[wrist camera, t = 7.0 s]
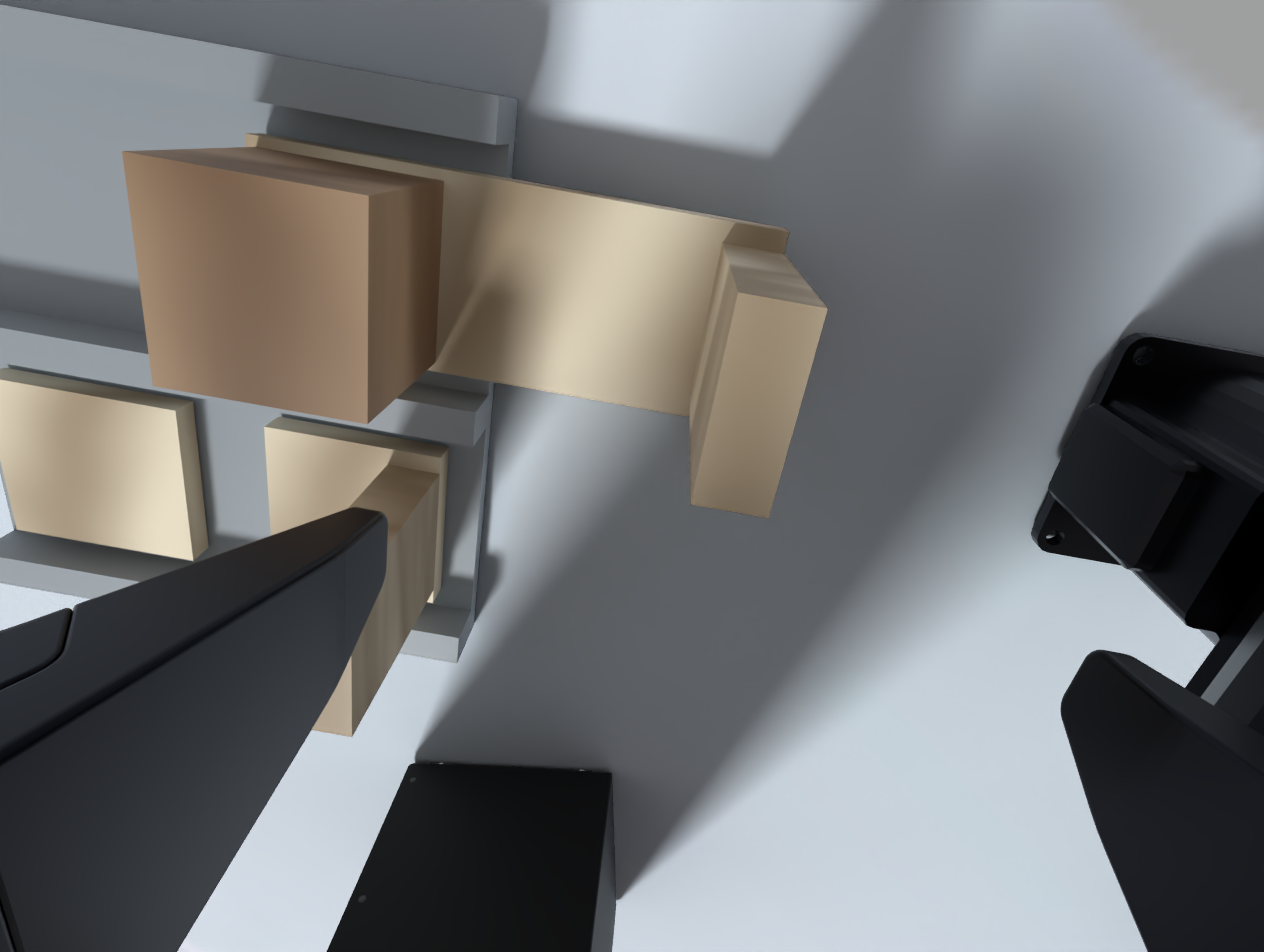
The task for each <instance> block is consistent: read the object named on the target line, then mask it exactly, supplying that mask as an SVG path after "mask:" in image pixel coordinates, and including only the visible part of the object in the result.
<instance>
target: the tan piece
mask: <svg viewBox="0 0 1264 952" xmlns="http://www.w3.org/2000/svg"><path fill="white" fill-rule="evenodd" d="M245 145H246V147H260V148H265V149H271V150H276V151H282V152H287V153H293V154H299V155H304V156H310V157H315V158H321V159H326V160H332V161H337V162H343V163H348V164H354V165H359V166H365V167H370V168H376V169H381V170H387V171H392V172H398V173H403V174H409V175H414V176H420V177H425V178H431V179H436V180H442V181H444V192H443V213H442V235H441V256H440V277H439V299H438V320H437V342H436V363H434V364H433V365H432V366H431V367H430V368H429V369H428V370H429V371H435V372H440V373H446V374H452V375H457V376H463V377H468V378H474V379H479V380H485V381H491V382H496V383H502V384H507V385H513V386H518V387H524V388H530V389H535V390H541V391H546V392H552V393H558V394H563V395H569V396H574V397H580V398H585V399H591V400H597V401H602V402H608V403H613V404H619V405H625V406H630V407H636V408H641V409H647V410H652V411H658V412H664V413H669V414H675V415H680V416H686V417H690V505H696V506H702V507H707V508H713V509H719V510H724V511H730V512H735V513H741V514H747V515H752V516H758V517H763V518H769V516H770V512H771V509H772V505H773V502H774V498H775V495H776V491H777V488H778V484H779V481H780V477H781V473H782V470H783V466H784V463H785V459H786V456H787V452H788V449H789V445H790V442H791V438H792V434H793V431H794V427H795V424H796V420H797V417H798V413H799V410H800V406H801V402H802V399H803V395H804V392H805V388H806V385H807V381H808V378H809V374H810V371H811V367H812V363H813V360H814V356H815V353H816V349H817V346H818V342H819V339H820V335H821V332H822V328H823V324H824V321H825V317H826V314H827V310H828V308H827V307H826V305H825V304H824V303H823V302H822V300H821V299H820V298H819V297H818V295H817V294H816V293H815V292H814V290H813V289H812V288H811V287H810V285H809V284H808V283H807V282H806V280H805V279H804V278H803V277H802V275H801V274H800V273H799V272H798V270H797V269H796V268H795V267H794V265H793V264H792V263H791V262H790V260H789V259H788V258H787V257H786V255H785V254H784V252H785V248H786V244H787V240H788V236H789V231H788V230H787V229H786V228H782V227H776V226H771V225H765V224H760V223H754V222H749V221H743V220H738V219H732V218H727V217H721V216H716V215H710V214H705V213H699V212H694V211H688V210H683V209H677V208H672V207H666V206H661V205H655V204H650V203H644V202H639V201H633V200H628V199H622V198H617V197H611V196H606V195H600V194H595V193H589V192H584V191H578V190H573V189H567V188H561V187H556V186H550V185H545V184H539V183H534V182H528V181H523V180H517V179H512V178H506V177H501V176H495V175H490V174H484V173H479V172H473V171H468V170H462V169H457V168H451V167H446V166H440V165H435V164H429V163H424V162H418V161H413V160H407V159H402V158H396V157H391V156H385V155H380V154H374V153H369V152H363V151H358V150H352V149H346V148H341V147H335V146H330V145H324V144H319V143H313V142H308V141H302V140H297V139H291V138H286V137H280V136H275V135H269V134H264V133H245Z"/></svg>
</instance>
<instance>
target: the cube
mask: <svg viewBox="0 0 1264 952" xmlns="http://www.w3.org/2000/svg"><path fill="white" fill-rule="evenodd" d="M122 155H123V163H124V171H125V178H126V186H127V193H128V201H129V209H130V216H131V224H132V231H133V239H134V247H135V254H136V262H137V269H138V277H139V285H140V292H141V300H142V308H143V315H144V323H145V330H146V338H147V346H148V353H149V361H150V368H151V376H152V384H153V386H155V387H160V388H166V389H172V390H177V391H183V392H188V393H194V394H200V395H205V396H211V397H216V398H222V399H228V400H233V401H239V402H244V403H250V404H256V405H261V406H267V407H272V408H278V409H284V410H289V411H295V412H300V413H306V414H312V415H317V416H323V417H328V418H334V419H340V420H345V421H351V422H357V423H362V424H369V423H370V422H371V421H372V420H373V419H374V418H375V417H376V416H377V415H378V414H380V413H381V412H382V411H383V410H384V409H385V408H386V407H387V406H388V405H389V404H391V403H392V402H393V401H394V400H395V399H396V398H397V397H398V396H399V395H400V394H402V393H403V392H404V391H405V390H406V389H407V388H408V387H409V386H410V385H411V384H412V383H414V382H415V381H416V380H417V379H418V378H419V377H420V376H421V375H422V374H423V373H425V372H426V371H427V370H428V369H429V368H430V367H431V366H432V365H433V364H434V363H436V342H437V320H438V299H439V277H440V256H441V235H442V213H443V192H444V181H442V180H436V179H431V178H425V177H420V176H414V175H409V174H403V173H398V172H392V171H387V170H381V169H376V168H370V167H365V166H359V165H354V164H348V163H343V162H337V161H332V160H326V159H321V158H315V157H310V156H304V155H299V154H293V153H287V152H282V151H276V150H271V149H265V148H260V147H234V148H203V149H172V150H141V151H122Z"/></svg>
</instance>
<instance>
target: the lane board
mask: <svg viewBox="0 0 1264 952" xmlns="http://www.w3.org/2000/svg"><path fill="white" fill-rule="evenodd" d="M517 108H518V99H515V98H510V97H505V96H500V95H494V94H489V93H483V92H478V91H472V90H467V89H461V88H456V87H450V86H445V85H439V84H434V83H429V82H423V81H418V80H412V79H407V78H401V77H396V76H390V75H385V74H379V73H374V72H368V71H363V70H357V69H352V68H346V67H341V66H335V65H330V64H324V63H319V62H313V61H308V60H302V59H297V58H291V57H286V56H280V55H275V54H269V53H264V52H258V51H253V50H247V49H242V48H236V47H231V46H225V45H220V44H215V43H209V42H204V41H198V40H193V39H187V38H182V37H176V36H171V35H165V34H160V33H154V32H149V31H143V30H138V29H132V28H127V27H121V26H116V25H110V24H105V23H99V22H94V21H88V20H83V19H77V18H72V17H66V16H61V15H55V14H50V13H44V12H39V11H33V10H28V9H22V8H17V7H11V6H6V5H1V4H0V369H2V368H9V369H15V370H21V371H26V372H32V373H37V374H43V375H49V376H54V377H60V378H65V379H71V380H77V381H82V382H88V383H93V384H99V385H105V386H110V387H116V388H121V389H127V390H133V391H138V392H144V393H150V394H155V395H161V396H166V397H172V398H178V399H183V400H189V401H193V405H194V415H195V424H196V433H197V443H198V452H199V461H200V471H201V480H202V490H203V499H204V508H205V518H206V527H207V536H208V546H209V548H208V549H206V550H205V551H204V552H203V553H202V554H201V555H199V556H198V557H197V558H196V559H195V560H194V561H191V560H186V559H180V558H174V557H169V556H163V555H157V554H152V553H146V552H140V551H135V550H129V549H123V548H118V547H112V546H106V545H101V544H95V543H89V542H84V541H78V540H73V539H67V538H61V537H56V536H50V535H44V534H39V533H33V532H27V531H22V530H17V529H16V525H15V520H14V516H13V512H12V508H11V504H10V499H9V495H8V491H7V487H6V483H5V479H4V474H3V470H2V466H1V462H0V474H1V478H2V482H3V487H4V491H5V495H6V499H7V503H8V507H9V511H10V516H11V520H12V524H13V528H14V531H12V532H10V533H9V534H7V535H5V536H4V537H2V538H0V583H4V584H9V585H15V586H21V587H26V588H32V589H38V590H43V591H49V592H55V593H60V594H66V595H72V596H78V597H83V598H89V599H93V598H96V597H99V596H102V595H105V594H107V593H110V592H113V591H116V590H119V589H122V588H124V587H127V586H130V585H133V584H136V583H139V582H141V581H144V580H147V579H150V578H153V577H156V576H158V575H161V574H164V573H167V572H170V571H173V570H175V569H178V568H181V567H184V566H187V565H189V564H192V563H195V562H198V561H201V560H204V559H206V558H209V557H212V556H215V555H218V554H221V553H223V552H226V551H229V550H232V549H235V548H238V547H240V546H243V545H246V544H249V543H252V542H254V541H257V540H260V539H263V538H266V537H269V536H271V530H270V514H269V498H268V482H267V466H266V450H265V434H264V426H266V425H267V424H269V423H270V422H271V421H273V420H274V419H276V418H277V417H284V418H290V419H295V420H301V421H306V422H312V423H318V424H323V425H329V426H334V427H340V428H346V429H351V430H357V431H362V432H368V433H374V434H379V435H385V436H390V437H396V438H402V439H407V440H413V441H419V442H424V443H430V444H435V445H441V446H447V447H449V458H448V475H447V492H446V509H445V527H444V544H443V561H442V578H441V589H440V591H439V593H438V595H437V597H436V598H435V600H434V602H433V603H429V602H427V603H426V605H425V606H424V608H423V610H422V612H421V614H420V615H419V617H418V619H417V621H416V623H415V624H414V626H413V628H412V630H411V632H410V633H409V635H408V637H407V639H406V641H405V642H404V644H403V646H402V648H401V650H400V651H399V653H401V654H407V655H412V656H418V657H424V658H429V659H435V660H441V661H446V662H452V663H457V662H458V660H459V657H460V655H461V653H462V651H463V648H464V646H465V644H466V641H467V639H468V637H469V634H470V632H471V630H472V628H473V625H474V617H475V605H476V593H477V581H478V570H479V558H480V546H481V534H482V522H483V511H484V499H485V487H486V475H487V463H488V451H489V440H490V428H491V416H492V404H493V392H494V382H491V381H485V380H479V379H474V378H468V377H463V376H457V375H452V374H446V373H440V372H435V371H429V370H427V371H426V372H425V373H423V374H422V375H421V376H420V377H419V378H418V379H417V380H416V381H415V382H414V383H412V384H411V385H410V386H409V387H408V388H407V389H406V390H405V391H404V392H403V393H402V394H400V395H399V396H398V397H397V398H396V399H395V400H394V401H393V402H392V403H391V404H389V405H388V406H387V407H386V408H385V409H384V410H383V411H382V412H381V413H380V414H378V415H377V416H376V417H375V418H374V419H373V420H372V421H371V422H370V423H369V424H362V423H357V422H351V421H345V420H340V419H334V418H328V417H323V416H317V415H312V414H306V413H300V412H295V411H289V410H284V409H278V408H272V407H267V406H261V405H256V404H250V403H244V402H239V401H233V400H228V399H222V398H216V397H211V396H205V395H200V394H194V393H188V392H183V391H177V390H172V389H166V388H160V387H155V386H153V384H152V376H151V368H150V361H149V353H148V346H147V338H146V330H145V323H144V315H143V308H142V300H141V292H140V285H139V277H138V269H137V262H136V254H135V247H134V239H133V231H132V224H131V216H130V209H129V201H128V193H127V186H126V178H125V171H124V163H123V155H122V151H141V150H172V149H203V148H234V147H246V145H245V133H264V134H269V135H275V136H280V137H286V138H291V139H297V140H302V141H308V142H313V143H319V144H324V145H330V146H335V147H341V148H346V149H352V150H358V151H363V152H369V153H374V154H380V155H385V156H391V157H396V158H402V159H407V160H413V161H418V162H424V163H429V164H435V165H440V166H446V167H451V168H457V169H462V170H468V171H473V172H479V173H484V174H490V175H495V176H501V177H506V178H512V168H513V156H514V144H515V132H516V120H517Z"/></svg>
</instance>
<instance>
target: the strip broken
mask: <svg viewBox="0 0 1264 952" xmlns="http://www.w3.org/2000/svg"><path fill="white" fill-rule="evenodd" d="M264 434H265V450H266V466H267V482H268V498H269V514H270V530H271V535H274V534H277V533H280V532H283V531H286V530H288V529H291V528H294V527H297V526H300V525H303V524H305V523H308V522H311V521H314V520H317V519H319V518H322V517H325V516H328V515H331V514H334V513H336V512H339V511H342V510H345V509H348V508H351V507H360V508H365V509H370V510H376V511H380V512H383V513H384V514H385V515H386V516H387V519H388V545H387V568H386V575H385V580H384V583H383V586H382V588H381V591H380V593H379V595H378V597H377V600H376V602H375V604H374V606H373V608H372V611H371V613H370V615H369V617H368V620H367V622H366V624H365V626H364V628H363V631H362V633H361V635H360V637H359V639H358V642H357V644H356V646H355V648H354V651H353V653H352V655H351V657H350V659H349V662H348V664H347V666H346V668H345V671H344V673H343V675H342V677H341V679H340V681H339V683H338V685H337V687H336V689H335V691H334V692H333V694H332V696H331V698H330V700H329V701H328V703H327V705H326V706H325V708H324V710H323V711H322V713H321V715H320V716H319V718H318V720H317V721H316V723H315V725H314V726H313V728H312V730H315V731H321V732H327V733H332V734H338V735H344V736H349V737H352V736H353V734H354V732H355V731H356V729H357V727H358V725H359V723H360V722H361V720H362V718H363V716H364V714H365V713H366V711H367V709H368V707H369V705H370V704H371V702H372V700H373V698H374V696H375V695H376V693H377V691H378V689H379V687H380V686H381V684H382V682H383V680H384V678H385V677H386V675H387V673H388V671H389V669H390V668H391V666H392V664H393V662H394V660H395V659H396V657H397V655H398V653H399V651H400V650H401V648H402V646H403V644H404V642H405V641H406V639H407V637H408V635H409V633H410V632H411V630H412V628H413V626H414V624H415V623H416V621H417V619H418V617H419V615H420V614H421V612H422V610H423V608H424V606H425V605H426V603H427V602H429V603H433V602H434V600H435V598H436V597H437V595H438V593H439V591H440V589H441V578H442V561H443V544H444V527H445V509H446V492H447V475H448V458H449V447H447V446H441V445H435V444H430V443H424V442H419V441H413V440H407V439H402V438H396V437H390V436H385V435H379V434H374V433H368V432H362V431H357V430H351V429H346V428H340V427H334V426H329V425H323V424H318V423H312V422H306V421H301V420H295V419H290V418H284V417H277V418H276V419H274V420H273V421H271V422H270V423H269V424H267V425H266V426H264ZM0 462H1V466H2V470H3V474H4V479H5V483H6V487H7V491H8V495H9V499H10V504H11V508H12V512H13V516H14V520H15V525H16V529H17V530H22V531H27V532H33V533H39V534H44V535H50V536H56V537H61V538H67V539H73V540H78V541H84V542H89V543H95V544H101V545H106V546H112V547H118V548H123V549H129V550H135V551H140V552H146V553H152V554H157V555H163V556H169V557H174V558H180V559H186V560H191V561H194V560H195V559H196V558H197V557H198V556H199V555H201V554H202V553H203V552H204V551H205V550H206V549H208V548H209V546H208V536H207V527H206V518H205V508H204V499H203V490H202V480H201V471H200V461H199V452H198V443H197V433H196V424H195V415H194V405H193V401H189V400H183V399H178V398H172V397H166V396H161V395H155V394H150V393H144V392H138V391H133V390H127V389H121V388H116V387H110V386H105V385H99V384H93V383H88V382H82V381H77V380H71V379H65V378H60V377H54V376H49V375H43V374H37V373H32V372H26V371H21V370H15V369H9V368H2V369H0Z"/></svg>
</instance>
